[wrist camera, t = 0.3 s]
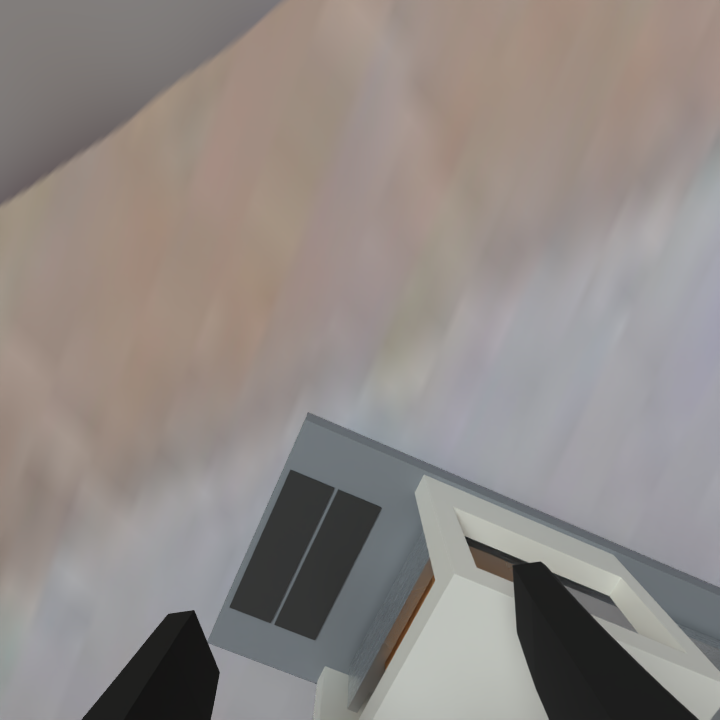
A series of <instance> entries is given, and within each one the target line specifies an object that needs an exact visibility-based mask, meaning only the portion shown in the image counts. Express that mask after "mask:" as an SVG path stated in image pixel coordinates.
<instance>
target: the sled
mask: <svg viewBox="0 0 720 720" xmlns="http://www.w3.org/2000/svg"><path fill="white" fill-rule="evenodd" d="M465 539H466V542H467V544H468V547H469V549H470V552H471V554H472V557H473V559H474V562H475V564H476V567H477V568H479V569H482V570H484V571H487V572H489V573H491V574H494V575H496V576H499V577H501V578H504V579H506V580H509V581H511V582H513V568H512V565H518V564H525V563H529V562H526V561H524V560H521V559H519V558H517V557H514V556H512V555H509V554H507V553H505V552H502V551H500V550H497V549H495V548H493V547H490V546H488V545H485V544H483V543H481V542H478V541H476V540H473V539H471V538H469V537H466V536H465ZM552 573H553V572H552ZM553 574H554V575H555V576H556V577H557V579H558V580H559V581H560V582H561V583H562V584H563V585H564V586H565V588H566V589H567V590H568V591H569V592H570V593H571V594H572V595H573V596H574V597H575V598H576V600H577V601H578V602H579V603H580V604H581V605H582V606H583V607H584V608H585V609H586V610H587V611H588V612H589V613H590V614H591V615H594V616H596V617H599V618H601V619H603V620H606V621H608V622H611V623H613V624H616V625H618V626H620V627H623V628H625V629H628V630H630V631H633V632H635V633H637V634H638V632H637V631H636V630H635V628H634V627H633V626H632V625H631V623H630V622H629V621H628V619H627V618H626V617H625V616H624V614H623V613H622V612H621V610H620V609H619V608H618V607H617V605H616V604H615V603H614V601H613V600H612V599H611V598H610V596H608V595H606V594H603V593H601V592H598V591H596V590H594V589H591V588H589V587H586V586H584V585H582V584H579V583H577V582H574V581H572V580H569V579H567V578H565V577H562V576H560V575H557V574H555V573H553ZM432 576H434V573H433V569H432V565H431V560H430V556H429V552H428V548H427V543H426V539H425V535H424V531H423V529H422V531H421V533H420V535H419V537H418V538H417V540H416V542H415V544H414V546H413V548H412V550H411V552H410V554H409V555H408V557H407V559H406V561H405V563H404V565H403V567H402V569H401V570H400V572H399V574H398V576H397V578H396V580H395V582H394V584H393V586H392V587H391V589H390V591H389V593H388V595H387V597H386V599H385V601H384V603H383V604H382V606H381V608H380V610H379V612H378V614H377V616H376V618H375V620H374V621H373V623H372V625H371V627H370V629H369V631H368V633H367V635H366V636H365V638H364V640H363V642H362V644H361V646H360V648H359V650H358V652H357V653H356V655H355V657H354V659H353V661H352V663H351V665H350V667H349V680H348V705H347V709H348V710H351V711H353V712H356V713H358V711H359V709H360V707H361V706H362V704H363V702H364V700H365V698H366V697H367V695H368V693H369V691H370V692H373V693H374V691H375V689H376V687H377V685H378V684H379V682H380V680H381V678H382V676H383V674H384V673H385V662H386V660H387V658H388V656H389V655H390V653H391V651H392V649H393V647H394V646H395V644H396V642H397V640H398V638H399V636H400V635H401V633H402V631H403V629H404V627H405V626H406V624H407V622H408V620H409V618H410V616H411V615H412V613H413V611H414V609H415V607H416V606H417V604H418V602H419V600H420V598H421V596H422V595H423V593H424V591H425V589H426V587H427V586H428V584H429V582H430V580H431V578H432ZM676 624H677V625H678V626H679V627H680V629H681V630H682V631H683V632H684V633H685V634H686V635H687V636H688V637H689V638H690V640H691V641H692V642H693V643H694V644H695V645H696V646H697V647H698V648H699V649H700V651H701V652H702V653H703V654H704V655H705V656H706V657H707V658H708V659H709V660H710V662H711V663H712V664H713V665H714V666H715V667H716V668H717V669H718V670H719V671H720V641H719V640H716V639H714V638H711V637H709V636H707V635H704V634H702V633H699V632H697V631H695V630H692V629H690V628H687V627H685V626H683V625H680V624H678V623H676ZM711 720H720V708H719V709H718V710H717V712H716V713H715V714H714V716H713V717H712V718H711Z"/></svg>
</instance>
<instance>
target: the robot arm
mask: <svg viewBox="0 0 720 720" xmlns="http://www.w3.org/2000/svg"><path fill="white" fill-rule="evenodd" d="M512 568H513V583H514V598H515V613H516V629H517V635H518V638H519V641H520V644H521V647H522V650H523V653H524V656H525V659H526V662H527V665H528V668H529V671H530V674H531V677H532V680H533V682H534V685H535V688H536V691H537V693H538V695H539V698H540V700H541V702H542V705H543V707H544V709H545V712H546V714H547V716H548V718H549V720H699V719H698V718H697V717H696V716H695V715H693V714H692V713H691V712H690V711H689V710H688V709H687V708H686V707H685V706H684V705H683V704H681V703H680V702H679V701H678V700H677V699H676V698H675V697H674V696H673V695H672V694H671V693H669V692H668V691H667V690H666V689H665V688H664V687H663V686H662V685H661V684H660V683H659V682H658V681H657V680H656V679H655V678H654V677H653V676H652V675H650V674H649V673H648V672H647V671H646V670H645V669H644V668H643V667H642V666H641V665H640V664H639V663H638V662H637V661H636V660H635V659H634V658H633V657H632V656H631V655H630V654H629V653H628V652H627V651H626V650H625V649H624V648H623V647H622V646H621V645H620V644H619V643H618V642H617V641H616V640H615V639H614V638H613V637H612V636H611V635H610V634H609V633H608V632H607V631H606V630H605V629H604V628H603V627H602V626H601V625H600V624H599V623H598V622H597V621H596V620H595V619H594V618H593V617H592V616H591V614H590V613H589V612H588V611H587V610H586V609H585V608H584V607H583V606H582V605H581V604H580V603H579V602H578V601H577V600H576V598H575V597H574V596H573V595H572V594H571V593H570V592H569V591H568V590H567V589H566V588H565V586H564V585H563V584H562V583H561V582H560V581H559V580H558V579H557V577H556V576H555V575H554V574H553V573H552V572H551V571H550V569H549V568H548V567H547V566H546V565H545V564H543V563H542V562H541V561H540V562H533V563H525V564H518V565H512ZM219 674H220V672H219V669H218V667H217V665H216V662H215V660H214V657H213V655H212V652H211V650H210V648H209V645H208V643H207V640H206V638H205V635H204V633H203V631H202V628H201V626H200V623H199V621H198V618H197V616H196V614H195V611H194V610H192V611H185V612H178V613H171V614H168V615H167V616H166V617H165V619H164V620H163V621H162V622H161V623H160V624H159V626H158V627H157V628H156V629H155V631H154V632H153V633H152V634H151V635H150V637H149V638H148V639H147V640H146V642H145V643H144V644H143V645H142V647H141V648H140V649H139V650H138V652H137V653H136V654H135V655H134V656H133V658H132V659H131V660H130V661H129V663H128V664H127V665H126V666H125V668H124V669H123V670H122V671H121V673H120V674H119V675H118V676H117V677H116V679H115V680H114V681H113V682H112V684H111V685H110V686H109V687H108V688H107V690H106V691H105V692H104V693H103V694H102V696H101V697H100V698H99V699H98V701H97V702H96V703H95V704H94V705H93V707H92V708H91V709H90V710H89V711H88V713H87V714H86V715H85V716H84V717H83V719H82V720H211V715H212V710H213V706H214V701H215V695H216V690H217V684H218V679H219Z"/></svg>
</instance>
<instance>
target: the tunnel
mask: <svg viewBox="0 0 720 720" xmlns="http://www.w3.org/2000/svg"><path fill="white" fill-rule="evenodd" d="M415 497H416V501H417V505H418V509H419V514H420V518H421V522H422V526H423V531H424V535H425V539H426V543H427V548H428V552H429V556H430V560H431V565H432V569H433V573H434V577H435V582H434V584H433V586H432V588H431V589H430V591H429V593H428V595H427V597H426V598H425V600H424V602H423V604H422V606H421V608H420V609H419V611H418V613H417V615H416V617H415V618H414V620H413V622H412V624H411V626H410V627H409V629H408V631H407V633H406V635H405V636H404V638H403V640H402V642H401V644H400V646H399V647H398V649H397V651H396V653H395V655H394V656H393V658H392V660H391V662H390V664H389V665H388V667H387V669H386V671H385V673H384V674H383V676H382V678H381V680H380V682H379V684H378V685H377V687H376V689H375V691H374V693H373V692H370V691H369V693H368V695H367V697H366V698H365V700H364V702H363V704H362V706H361V707H360V709H359V711H358V713H356V712H353V711H351V710H348V709H347V705H348V680H349V675H347V674H344V673H342V672H339V671H336V670H334V669H331V668H329V667H326V666H325V667H324V669H323V671H322V673H321V675H320V677H319V679H318V681H317V689H316V698H315V706H314V715H313V720H549V718H548V716H547V714H546V712H545V709H544V707H543V705H542V702H541V700H540V698H539V695H538V693H537V691H536V688H535V685H534V682H533V680H532V677H531V674H530V671H529V668H528V665H527V662H526V659H525V656H524V653H523V650H522V647H521V644H520V641H519V638H518V635H517V629H516V613H515V598H514V583H513V582H511V581H509V580H506V579H504V578H501V577H499V576H496V575H494V574H491V573H489V572H487V571H484V570H482V569H479V568H477V567H476V564H475V562H474V559H473V557H472V554H471V552H470V549H469V547H468V544H467V542H466V539H465V536H466V537H469V538H471V539H473V540H476V541H478V542H481V543H483V544H485V545H488V546H490V547H493V548H495V549H497V550H500V551H502V552H505V553H507V554H509V555H512V556H514V557H517V558H519V559H521V560H524V561H526V562H529V563H533V562H540V561H541V562H542V563H543V564H545V565H546V566H547V567H548V568H549V569H550V571H551V572H553V573H555V574H557V575H560V576H562V577H565V578H567V579H569V580H572V581H574V582H577V583H579V584H582V585H584V586H586V587H589V588H591V589H594V590H596V591H598V592H601V593H603V594H606V595H608V596H610V598H611V599H612V600H613V601H614V603H615V604H616V605H617V607H618V608H619V609H620V610H621V612H622V613H623V614H624V616H625V617H626V618H627V619H628V621H629V622H630V623H631V625H632V626H633V627H634V628H635V630H636V631H637V632H638V634H637V633H635V632H633V631H630V630H628V629H625V628H623V627H620V626H618V625H616V624H613V623H611V622H608V621H606V620H603V619H601V618H599V617H596V616H594V615H591V616H592V617H593V618H594V619H595V620H596V621H597V622H598V623H599V624H600V625H601V626H602V627H603V628H604V629H605V630H606V631H607V632H608V633H609V634H610V635H611V636H612V637H613V638H614V639H615V640H616V641H617V642H618V643H619V644H620V645H621V646H622V647H623V648H624V649H625V650H626V651H627V652H628V653H629V654H630V655H631V656H632V657H633V658H634V659H635V660H636V661H637V662H638V663H639V664H640V665H641V666H642V667H643V668H644V669H645V670H646V671H647V672H648V673H649V674H650V675H652V676H653V677H654V678H655V679H656V680H657V681H658V682H659V683H660V684H661V685H662V686H663V687H664V688H665V689H666V690H667V691H668V692H669V693H671V694H672V695H673V696H674V697H675V698H676V699H677V700H678V701H679V702H680V703H681V704H683V705H684V706H685V707H686V708H687V709H688V710H689V711H690V712H691V713H692V714H693V715H695V716H696V717H697V718H698V719H699V720H711V718H712V717H713V716H714V714H715V713H716V712H717V710H718V709H719V708H720V671H719V670H718V669H717V668H716V667H715V666H714V665H713V664H712V663H711V662H710V660H709V659H708V658H707V657H706V656H705V655H704V654H703V653H702V652H701V651H700V649H699V648H698V647H697V646H696V645H695V644H694V643H693V642H692V641H691V640H690V638H689V637H688V636H687V635H686V634H685V633H684V632H683V631H682V630H681V629H680V627H679V626H678V625H677V624H676V623H675V622H674V621H673V620H672V619H671V618H670V616H669V615H668V614H667V613H666V612H665V611H664V610H663V609H662V608H661V607H660V606H659V604H658V603H657V602H656V601H655V600H654V599H653V598H652V597H651V596H650V595H649V593H648V592H647V591H646V590H645V589H644V588H643V587H642V586H641V585H640V584H639V582H638V581H637V580H636V579H635V578H634V577H633V576H632V575H631V574H630V573H629V571H628V570H627V569H626V568H625V567H624V566H623V565H622V564H621V563H620V562H619V561H618V559H617V558H616V557H615V556H614V555H613V554H610V553H608V552H605V551H603V550H601V549H598V548H596V547H594V546H591V545H589V544H587V543H584V542H582V541H580V540H577V539H575V538H572V537H570V536H568V535H565V534H563V533H561V532H558V531H556V530H554V529H551V528H549V527H546V526H544V525H542V524H539V523H537V522H535V521H532V520H530V519H528V518H525V517H523V516H521V515H518V514H516V513H513V512H511V511H509V510H506V509H504V508H502V507H499V506H497V505H495V504H492V503H490V502H488V501H485V500H483V499H480V498H478V497H476V496H473V495H471V494H469V493H466V492H464V491H462V490H459V489H457V488H455V487H452V486H450V485H447V484H445V483H443V482H440V481H438V480H436V479H433V478H431V477H429V476H426V475H423V477H422V479H421V481H420V483H419V485H418V487H417V489H416V491H415Z"/></svg>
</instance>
